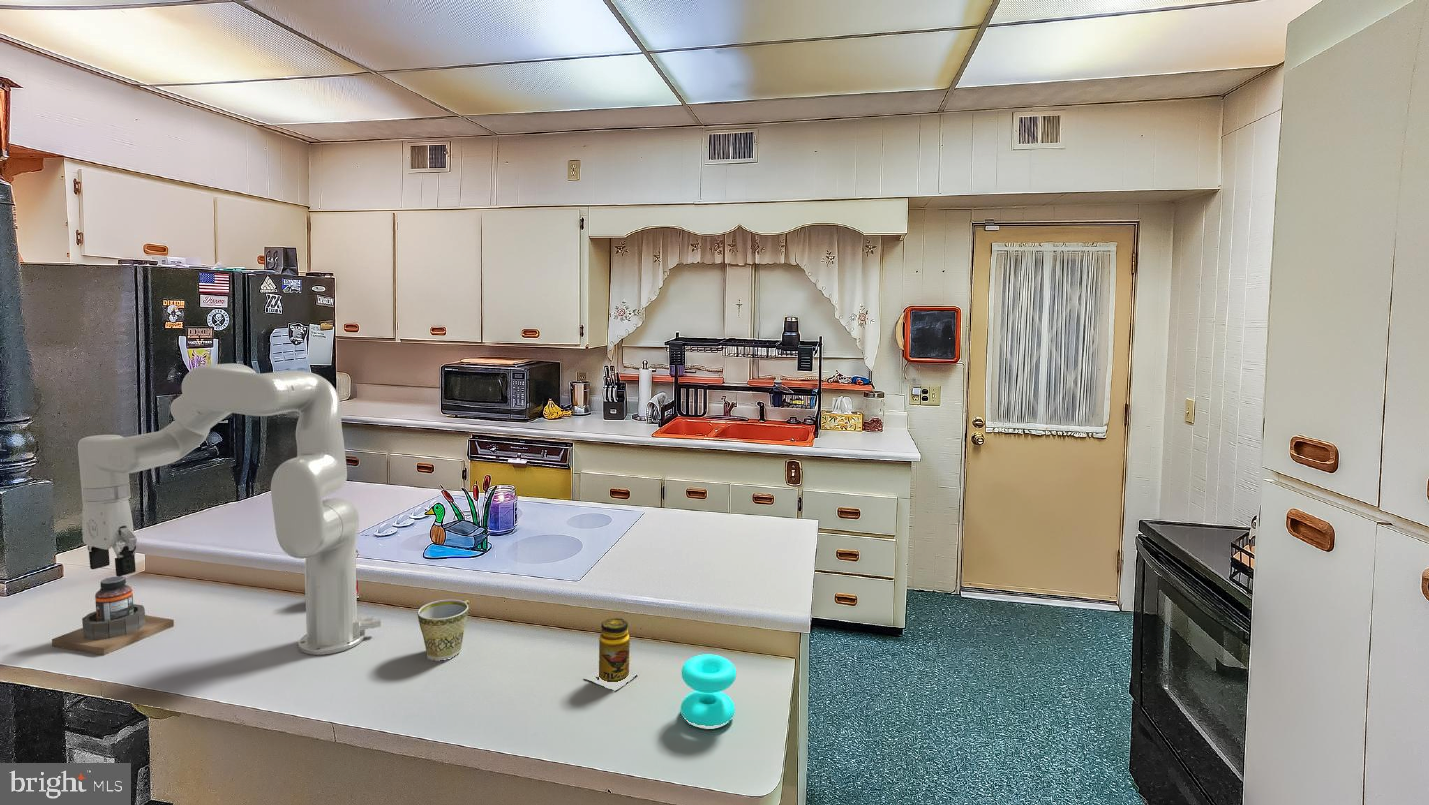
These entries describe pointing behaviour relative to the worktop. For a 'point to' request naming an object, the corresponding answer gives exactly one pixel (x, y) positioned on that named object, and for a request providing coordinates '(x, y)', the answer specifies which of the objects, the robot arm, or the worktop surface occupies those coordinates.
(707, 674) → the donuts
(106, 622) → the ring holder
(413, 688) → the worktop surface
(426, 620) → the ceramic cup
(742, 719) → the worktop surface
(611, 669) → the condiment
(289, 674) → the worktop surface
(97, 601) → the supplement bottle
